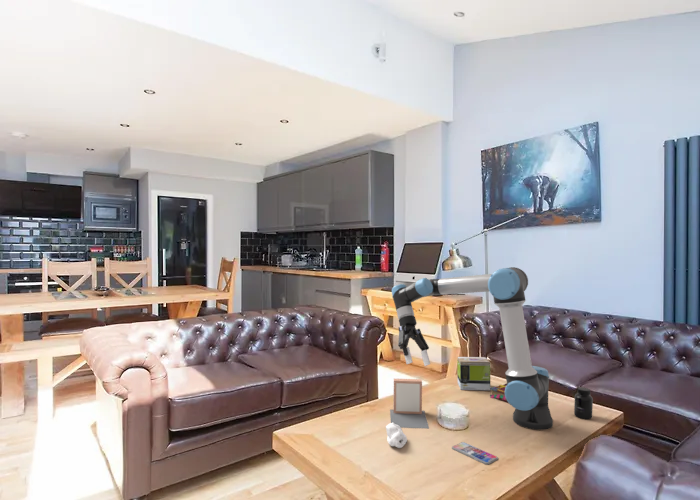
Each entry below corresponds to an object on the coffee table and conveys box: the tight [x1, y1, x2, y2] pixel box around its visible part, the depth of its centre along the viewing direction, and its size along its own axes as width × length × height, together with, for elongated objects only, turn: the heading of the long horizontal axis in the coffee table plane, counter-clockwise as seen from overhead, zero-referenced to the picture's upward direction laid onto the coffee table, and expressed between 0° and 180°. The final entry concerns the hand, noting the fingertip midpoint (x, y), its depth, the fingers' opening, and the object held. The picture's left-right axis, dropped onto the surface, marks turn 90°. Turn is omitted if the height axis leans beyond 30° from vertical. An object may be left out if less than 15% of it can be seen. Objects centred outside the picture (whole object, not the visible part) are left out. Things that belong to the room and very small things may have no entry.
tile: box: [392, 378, 423, 414], centre depth 183 cm, size 3×12×14 cm, turn 86°
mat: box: [389, 408, 430, 430], centre depth 177 cm, size 18×15×1 cm
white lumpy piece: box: [385, 422, 408, 449], centre depth 157 cm, size 9×12×8 cm
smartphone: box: [451, 441, 499, 466], centre depth 149 cm, size 7×1×15 cm
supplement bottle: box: [573, 386, 594, 421], centre depth 181 cm, size 7×7×12 cm
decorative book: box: [489, 382, 508, 403], centre depth 203 cm, size 11×16×5 cm
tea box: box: [456, 356, 491, 392], centre depth 217 cm, size 15×10×15 cm
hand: (418, 364), depth 181 cm, fingers open, 13 cm apart
